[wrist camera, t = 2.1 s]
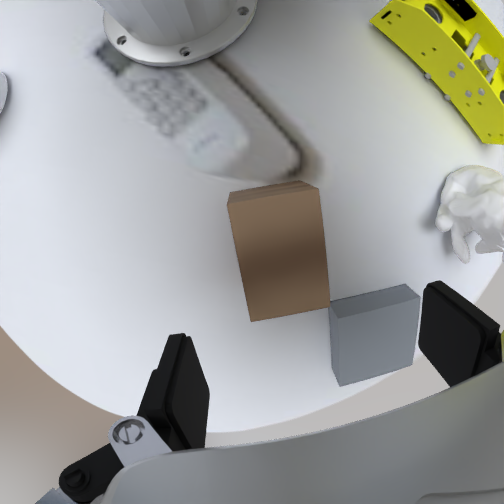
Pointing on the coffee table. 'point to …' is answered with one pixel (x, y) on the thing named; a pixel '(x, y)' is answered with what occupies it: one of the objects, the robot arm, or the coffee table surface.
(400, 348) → the plinth
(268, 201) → the walnut brick
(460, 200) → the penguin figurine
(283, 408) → the coffee table surface
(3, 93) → the beverage can
